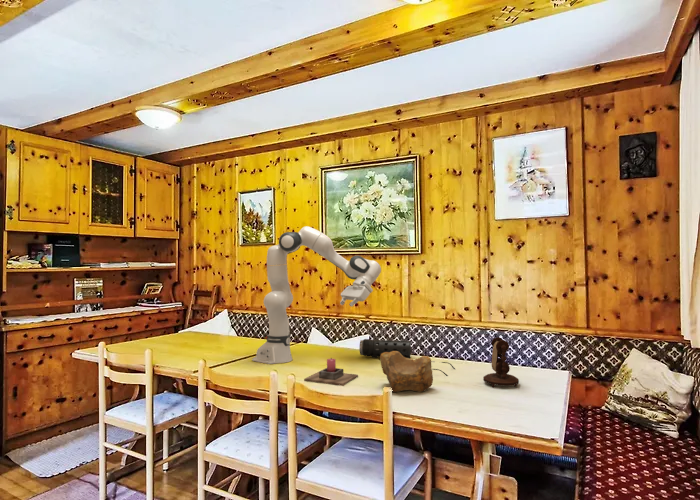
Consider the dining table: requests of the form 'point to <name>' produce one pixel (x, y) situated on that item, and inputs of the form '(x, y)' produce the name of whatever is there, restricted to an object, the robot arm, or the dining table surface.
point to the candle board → (331, 377)
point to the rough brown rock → (407, 372)
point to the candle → (331, 365)
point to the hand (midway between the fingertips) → (345, 304)
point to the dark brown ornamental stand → (500, 365)
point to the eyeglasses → (442, 371)
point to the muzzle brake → (384, 347)
